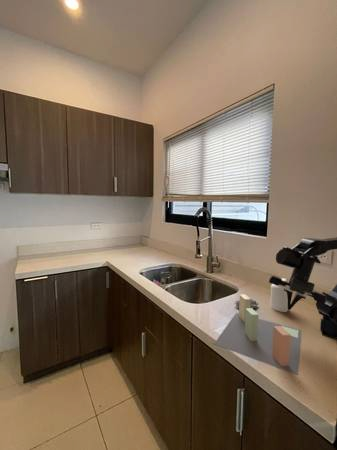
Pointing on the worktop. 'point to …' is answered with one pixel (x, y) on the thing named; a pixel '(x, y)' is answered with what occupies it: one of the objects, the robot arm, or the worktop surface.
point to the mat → (259, 342)
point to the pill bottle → (279, 298)
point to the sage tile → (251, 324)
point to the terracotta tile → (281, 345)
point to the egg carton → (252, 304)
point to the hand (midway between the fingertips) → (288, 309)
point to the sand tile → (243, 306)
